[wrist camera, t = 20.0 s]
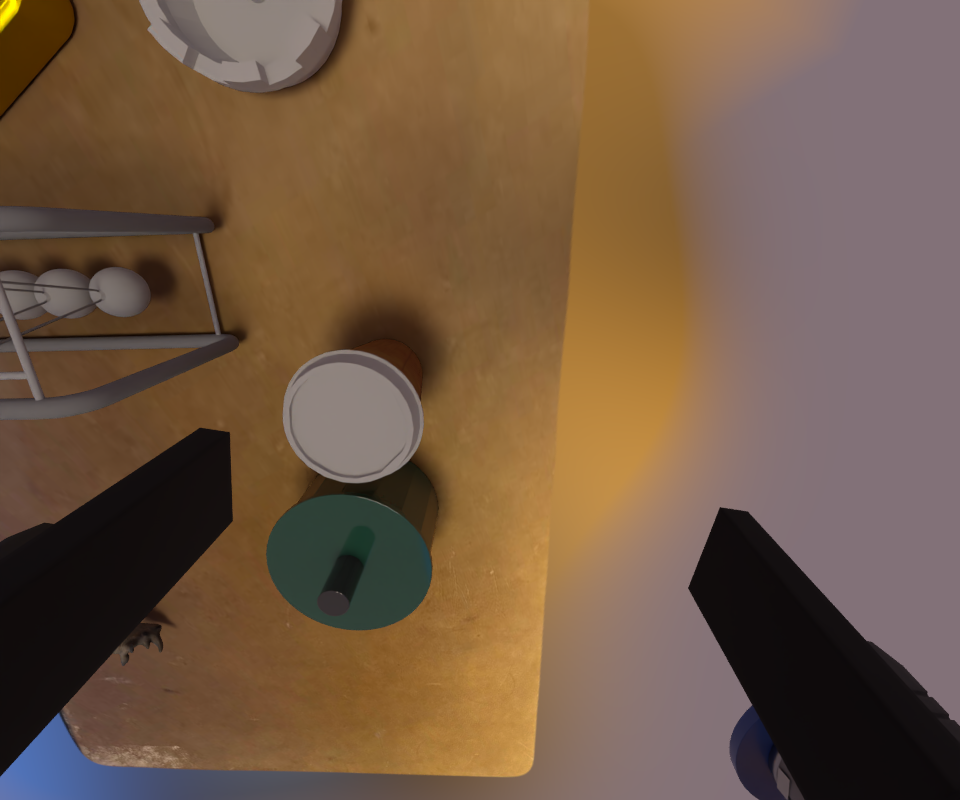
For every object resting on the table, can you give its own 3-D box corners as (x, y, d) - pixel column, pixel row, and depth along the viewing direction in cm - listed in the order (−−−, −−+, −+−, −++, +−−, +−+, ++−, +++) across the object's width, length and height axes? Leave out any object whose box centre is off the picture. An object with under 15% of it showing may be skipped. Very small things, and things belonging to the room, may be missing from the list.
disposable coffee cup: (357, 432, 43) (310, 502, 32) (318, 336, 40) (250, 377, 29) (454, 407, 42) (439, 471, 31) (421, 307, 39) (392, 337, 28)
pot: (446, 459, 44) (435, 509, 36) (430, 565, 48) (417, 630, 40) (315, 439, 44) (275, 485, 36) (311, 547, 48) (274, 610, 40)
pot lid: (443, 501, 36) (435, 541, 32) (423, 630, 41) (414, 682, 36) (272, 475, 36) (238, 512, 31) (272, 608, 41) (242, 658, 36)
